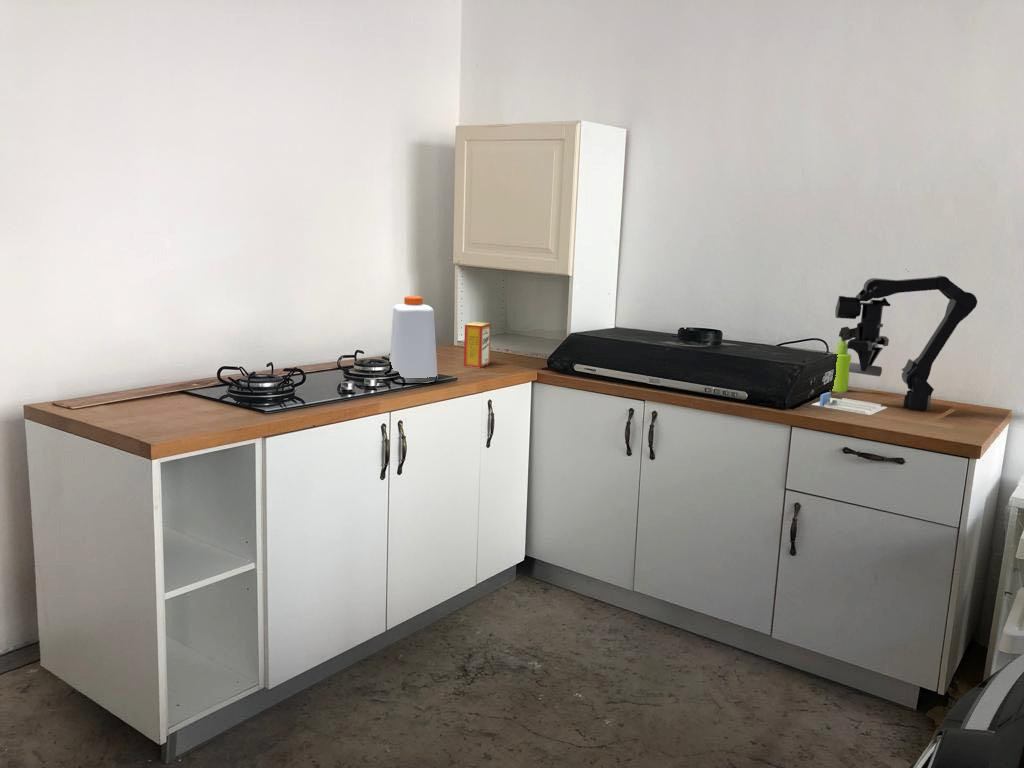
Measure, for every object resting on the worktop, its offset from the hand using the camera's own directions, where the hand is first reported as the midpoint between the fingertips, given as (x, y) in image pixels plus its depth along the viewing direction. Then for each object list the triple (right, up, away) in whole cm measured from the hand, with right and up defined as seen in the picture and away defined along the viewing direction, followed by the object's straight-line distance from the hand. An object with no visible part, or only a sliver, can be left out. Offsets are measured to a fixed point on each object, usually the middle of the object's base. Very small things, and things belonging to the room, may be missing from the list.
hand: (865, 370), depth 264 cm
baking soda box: (-122, +2, +55) cm, 134 cm away
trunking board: (-5, -12, 0) cm, 13 cm away
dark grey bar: (0, -1, 0) cm, 1 cm away
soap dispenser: (+1, -7, +25) cm, 26 cm away
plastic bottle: (-142, -3, +24) cm, 144 cm away
